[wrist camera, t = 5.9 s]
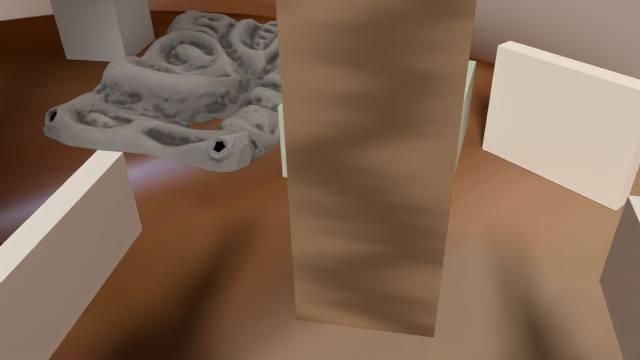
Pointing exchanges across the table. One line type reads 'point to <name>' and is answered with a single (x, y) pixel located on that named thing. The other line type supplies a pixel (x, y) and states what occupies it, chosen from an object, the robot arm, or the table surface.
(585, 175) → the card
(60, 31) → the grey plastic block
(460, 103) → the walnut block
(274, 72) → the wall plaque
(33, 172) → the table surface
